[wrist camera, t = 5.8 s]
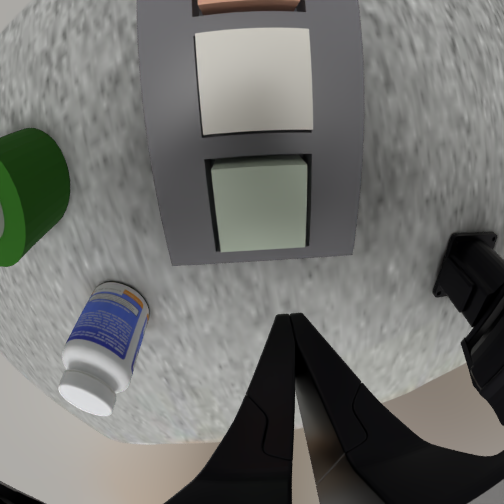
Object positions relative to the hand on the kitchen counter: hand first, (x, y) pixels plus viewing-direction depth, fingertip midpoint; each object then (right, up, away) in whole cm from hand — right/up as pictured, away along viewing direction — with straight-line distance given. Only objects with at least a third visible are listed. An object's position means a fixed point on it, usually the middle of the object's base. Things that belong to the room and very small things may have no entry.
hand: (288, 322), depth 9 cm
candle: (-18, +8, +7) cm, 21 cm away
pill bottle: (-12, -2, +13) cm, 18 cm away
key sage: (-1, +6, +7) cm, 9 cm away
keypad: (-1, +12, +5) cm, 13 cm away
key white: (-1, +11, +3) cm, 11 cm away
